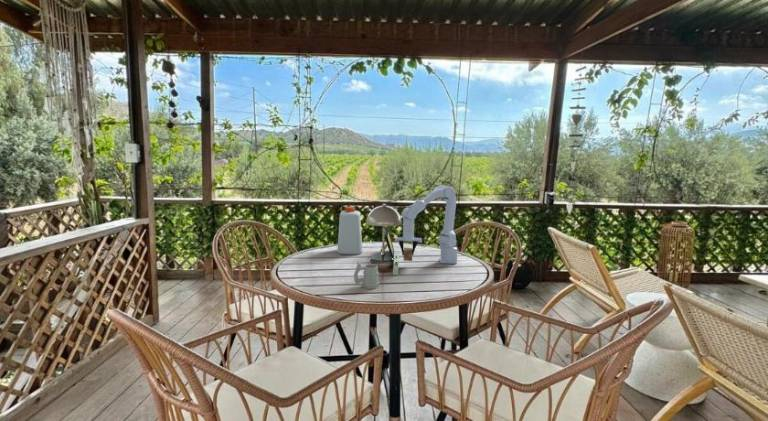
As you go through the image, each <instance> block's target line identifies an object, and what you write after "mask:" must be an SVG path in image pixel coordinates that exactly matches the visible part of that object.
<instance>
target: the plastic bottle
mask: <svg viewBox="0 0 768 421" xmlns="http://www.w3.org/2000/svg"><path fill="white" fill-rule="evenodd" d="M338 223H339V224H338V235H337V236H338V237H337V253H338V254H339V255H342V256H343V255H345V256H346V255H351V256H354V255H361V254H362V253H363V240H362V238H363V237H362V224H361V212H360V210H356V208H355V207H354V206H345V207H344V210H341V211H340V213H339V222H338Z"/></svg>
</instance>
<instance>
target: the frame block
mask: <svg viewBox="0 0 768 421" xmlns="http://www.w3.org/2000/svg"><path fill="white" fill-rule="evenodd" d="M412 249H413V247H403V250H404V255H402V256H403V261H404V262H405V261H406V262H412V261H413V255H412Z"/></svg>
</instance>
